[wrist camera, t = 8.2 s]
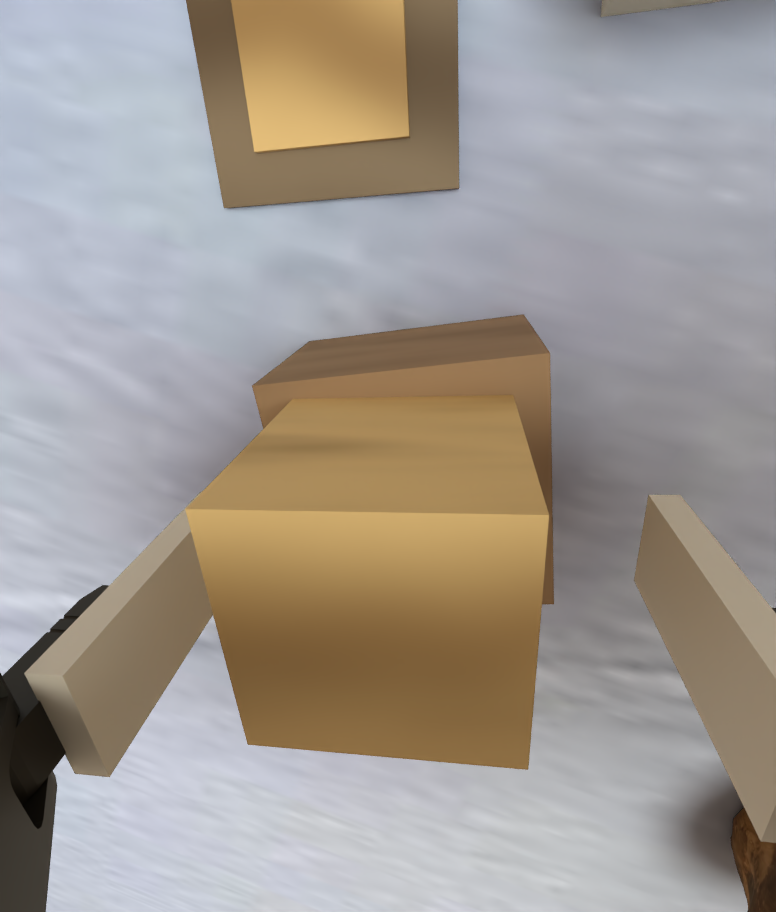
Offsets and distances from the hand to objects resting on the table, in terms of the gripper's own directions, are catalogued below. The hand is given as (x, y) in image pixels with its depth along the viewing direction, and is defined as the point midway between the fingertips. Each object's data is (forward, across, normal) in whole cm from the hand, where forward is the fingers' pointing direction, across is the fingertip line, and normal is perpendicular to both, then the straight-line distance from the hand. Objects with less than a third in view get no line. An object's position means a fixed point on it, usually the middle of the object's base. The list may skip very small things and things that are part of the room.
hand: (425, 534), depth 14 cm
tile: (+7, +3, -13) cm, 15 cm away
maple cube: (+1, +1, -1) cm, 1 cm away
